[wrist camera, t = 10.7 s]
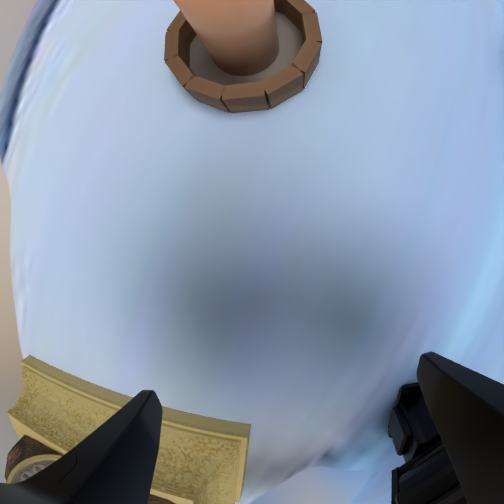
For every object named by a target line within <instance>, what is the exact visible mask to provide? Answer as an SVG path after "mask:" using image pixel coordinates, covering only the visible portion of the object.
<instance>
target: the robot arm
mask: <svg viewBox="0 0 504 504" xmlns="http://www.w3.org/2000/svg"><path fill="white" fill-rule="evenodd" d="M416 375H417V379H418V382H419V383H415V384H409V385H404V386H403V387H401V389H400V391H399V396H398V400H397V403H396V406H395V407H394V408H393V411H392V415H391V419H390V422H389V426H388V427H389V432H388V435H389V437H390V438H392V439H393V443H394V446H395V449H396V452H397V454H398V455H399V456H401V455H403V457H404V460H405V464H403V465H402V466H400V467H399V468H398V467H397V468H395V469H394V470H392V501H391V504H504V384H501V383H499V382H497V381H495V380H493V379H490V378H488V377H486V376H484V375H482V374H480V373H477V372H475V371H473V370H471V369H469V368H466V367H464V366H462V365H460V364H458V363H456V362H453V361H451V360H449V359H447V358H445V357H443V356H441V355H438V354H436V353H434V352H428V353H424V354H422V355H421V356H420V360H419V364H418V368H417V374H416ZM405 390H407V391H405ZM404 391H405V392H404ZM162 415H163V409H162V405H161V403H160V401H159V399H158V397H157V395H156V393H155V392H154V391H153V390H142V391H141V392H140V393H138V394H137V395H136V396H135V397H134V398H132V399H131V400H130V401H129V402H128V403H127V404H125V405H124V406H123V407H122V408H121V409H120V410H118V411H117V412H116V413H115V414H114V415H112V416H111V417H110V418H109V419H108V420H106V421H105V422H104V423H103V424H102V425H100V426H99V427H98V428H97V429H96V430H94V431H93V432H92V433H91V434H89V435H88V436H87V437H86V438H85V439H83V440H82V441H81V442H80V443H78V444H77V445H76V447H73V448H72V449H71V450H70V451H68V452H67V453H66V454H64V455H63V456H62V457H60V458H59V459H58V460H56V461H55V462H53V463H52V464H50V465H49V466H47V467H45V468H44V469H42V470H41V471H39V472H37V473H36V474H34V475H32V476H31V477H29V478H27V479H26V480H24V481H21V482H18V483H0V504H148V501H149V495H150V490H151V485H152V480H153V475H154V471H155V466H156V461H157V457H158V452H159V445H160V435H161V424H162Z"/></svg>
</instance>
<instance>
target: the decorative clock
mask: <svg viewBox="0 0 504 504" xmlns="http://www.w3.org/2000/svg"><path fill="white" fill-rule="evenodd" d="M21 364H22V374H23V387H22V392H21V397H20V398H19V400H18V401H17V403H16V404H15V406H14V407H12V408H11V409H10V410H9V411H8V412H7V414H8V416H9V418H10V420H11V422H12V424H13V426H14V428H15V430H16V432H17V434H18V436H19V437H20V440H19V441H18V442H17V443H16V445H15V446H14V447H13V448H12V449H11V451H10V452H9V453H8V457H7V464H6V471H5V478H6V483H18V482H21V481H24V480H26V479H27V478H29V477H31V476H32V475H34V474H36V473H37V472H39V471H41V470H42V469H44V468H45V467H47V466H49V465H50V464H52V463H53V462H55V461H56V460H58V459H59V458H60V457H62V456H63V455H64V454H66V453H67V452H68V451H70V450H71V449H72V448H73V447H76V445H77V444H78V443H80V442H81V441H82V440H83V439H85V438H86V437H87V436H88V435H89V434H91V433H92V432H93V431H94V430H96V429H97V428H98V427H99V426H100V425H102V424H103V423H104V422H105V421H106V420H108V419H109V418H110V417H111V416H112V415H114V414H115V413H116V412H117V411H118V410H120V409H121V408H122V407H123V406H124V405H125V404H127V403H128V402H129V401H130V400H131V399H132V397H129V396H126V395H123V394H120V393H117V392H115V391H112V390H109V389H106V388H103V387H101V386H98V385H95V384H93V383H90V382H88V381H85V380H83V379H80V378H78V377H76V376H73V375H71V374H69V373H66V372H64V371H62V370H60V369H57V368H55V367H53V366H51V365H49V364H47V363H45V362H43V361H41V360H39V359H37V358H35V357H33V356H31V355H30V356H28V357H27V358H25V359H24V360H22V361H21ZM162 409H163V415H162V424H161V435H160V445H159V452H158V457H157V461H156V466H155V471H154V475H153V480H152V485H151V490H150V495H149V501H148V504H235V501H237V502H240V499H241V495H242V490H243V482H244V474H245V466H246V458H247V450H248V442H249V434H250V424H244V423H237V422H231V421H225V420H220V419H215V418H210V417H205V416H200V415H195V414H191V413H187V412H182V411H178V410H174V409H170V408H167V407H163V406H162Z"/></svg>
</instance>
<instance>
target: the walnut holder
mask: <svg viewBox="0 0 504 504" xmlns="http://www.w3.org/2000/svg"><path fill="white" fill-rule="evenodd" d="M274 6H275V14H276V22H277V30H278V39H279V53H278V56H277V58H276V60H275V61H274V62H273V64H272V65H271V66H269V67H268V68H267V69H265V70H264V71H262V72H260V73H257V74H254V75H249V76H236V75H231V74H228V73H226V72H224V71H222V70H221V69H219V68H218V67H217V66H216V64H215V63H214V61H213V59H212V58H211V56H210V55H209V53H208V52H207V50H206V48H205V47H204V45H203V44H202V42H201V41H200V39H199V37H198V36H197V34H196V33H195V31H194V30H193V28H192V27H191V25H190V24H189V22H188V21H187V19H186V18H185V16H184V15H183V13H182V12H181V10H180V12H179V13H178V14H177V16H176V17H175V18H174V20H173V21H172V23H171V24H170V26H169V27H168V29H167V31H168V32H166V37H165V55H164V60H165V61H166V62H165V63H166V64H167V66H168V67H169V68H170V70H171V71H172V73H173V74H174V75H175V77H176V78H177V79H178V81H179V82H180V83H181V85H182V86H183V87H184V88H185V89H186V90H187V91H188V92H189V93H190V94H191V95H192V96H193V97H195V98H196V99H197V100H198V101H200V102H203V103H206V104H208V105H211V106H214V107H216V108H219V109H221V110H224V111H226V112H230V111H231V112H232V113H237V112H246V111H257V110H269V107H271V109H272V108H274V107H275V106H277V105H279V104H280V103H282V102H284V101H285V100H287V99H289V98H290V97H292V96H294V95H296V94H297V93H299V92H301V91H302V88H303V89H304V88H305V86H306V84H307V82H308V81H309V79H310V77H311V75H312V73H313V71H314V70H315V68H316V66H317V64H318V62H319V57H320V51H321V45H322V38H321V32H320V27H319V22H318V17H317V13H315V10H314V9H313V8H312V7H311V6H310V5H309V4H308V3H307V2H306V1H304V0H274Z"/></svg>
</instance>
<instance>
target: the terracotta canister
mask: <svg viewBox="0 0 504 504" xmlns="http://www.w3.org/2000/svg"><path fill="white" fill-rule="evenodd" d="M174 2H175V3H176V5H177V6H178V7H179V9H180V10H181V12H182V13H183V15H184V16H185V18H186V19H187V21H188V22H189V24H190V25H191V27H192V28H193V30H194V31H195V33H196V34H197V36H198V37H199V39H200V41H201V42H202V44H203V45H204V47H205V48H206V50H207V52H208V53H209V55H210V56H211V58H212V59H213V61H214V63H215V64H216V66H217V67H218V68H219V69H221V70H222V71H224V72H226V73H228V74H231V75H236V76H249V75H254V74H257V73H260V72H262V71H264V70H265V69H267V68H268V67H269V66H271V65H272V64H273V62H274V61H275V60H276V58H277V56H278V53H279V39H278V30H277V22H276V14H275V6H274V0H174Z"/></svg>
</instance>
